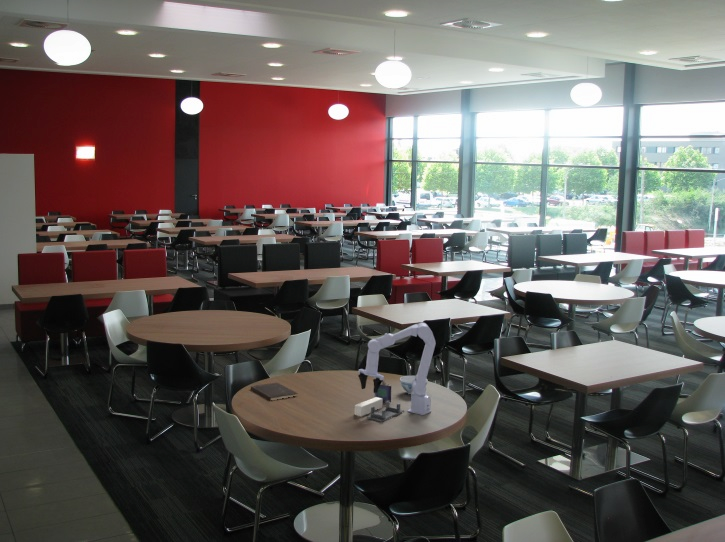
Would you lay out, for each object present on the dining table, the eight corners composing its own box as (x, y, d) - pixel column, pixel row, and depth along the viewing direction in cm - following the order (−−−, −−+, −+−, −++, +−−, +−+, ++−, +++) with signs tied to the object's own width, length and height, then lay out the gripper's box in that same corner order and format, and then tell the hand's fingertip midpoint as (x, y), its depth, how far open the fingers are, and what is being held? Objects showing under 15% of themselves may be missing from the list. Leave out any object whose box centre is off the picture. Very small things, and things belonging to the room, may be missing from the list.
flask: (373, 400, 379) (374, 380, 378) (375, 398, 382) (376, 378, 380) (390, 403, 375) (390, 382, 374) (392, 401, 378) (392, 381, 376)
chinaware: (428, 397, 386) (428, 383, 385) (399, 396, 386) (400, 382, 385) (426, 389, 401) (426, 376, 400) (398, 388, 401) (399, 375, 400)
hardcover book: (277, 386, 400) (277, 382, 400) (297, 397, 382) (297, 393, 381) (250, 390, 392) (250, 386, 391) (270, 401, 373) (270, 397, 372)
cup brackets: (403, 412, 361) (404, 402, 360) (381, 422, 345) (381, 412, 344) (389, 408, 366) (389, 399, 365) (366, 418, 350) (366, 408, 349)
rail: (382, 408, 367) (382, 398, 366) (361, 416, 353) (361, 406, 352) (375, 406, 369) (376, 396, 369) (354, 415, 355) (354, 405, 354)
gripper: (355, 361, 360) (352, 388, 362) (378, 368, 351) (375, 395, 353) (364, 359, 366) (361, 385, 367) (387, 366, 357) (384, 393, 358)
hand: (369, 390), depth 360 cm, fingers open, 7 cm apart
